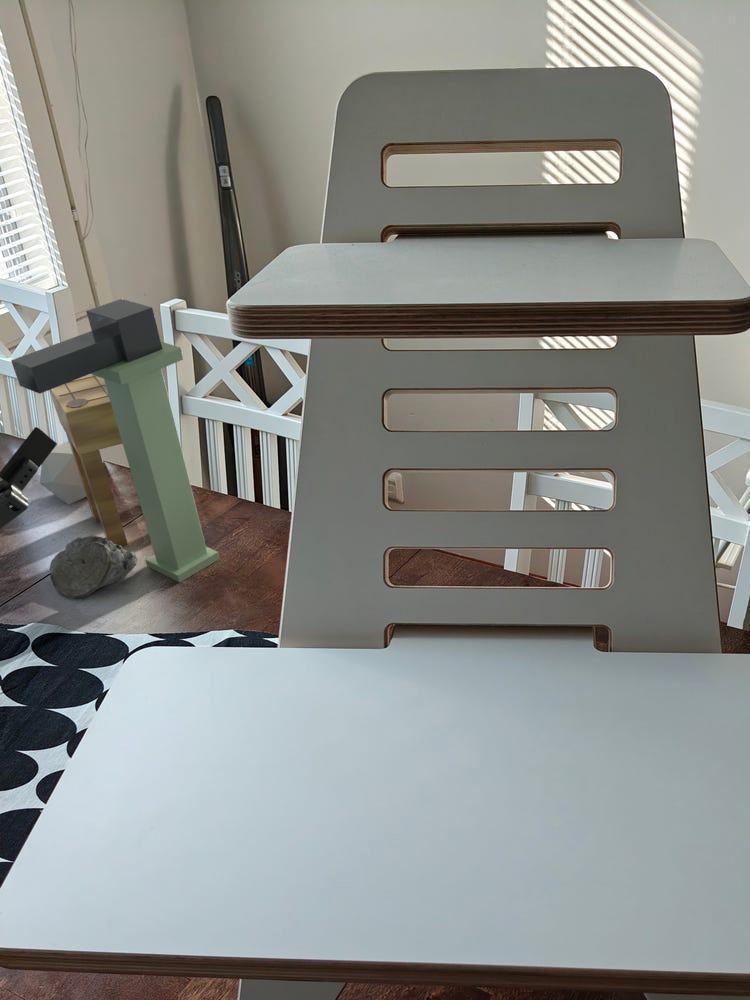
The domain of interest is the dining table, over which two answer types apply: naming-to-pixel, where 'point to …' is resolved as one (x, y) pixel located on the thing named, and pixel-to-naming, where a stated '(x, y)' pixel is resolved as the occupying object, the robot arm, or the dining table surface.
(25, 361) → the t-shaped mallet
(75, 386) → the go table
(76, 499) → the die
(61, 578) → the grey rough chunk
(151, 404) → the shelf stand
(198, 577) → the dining table surface
